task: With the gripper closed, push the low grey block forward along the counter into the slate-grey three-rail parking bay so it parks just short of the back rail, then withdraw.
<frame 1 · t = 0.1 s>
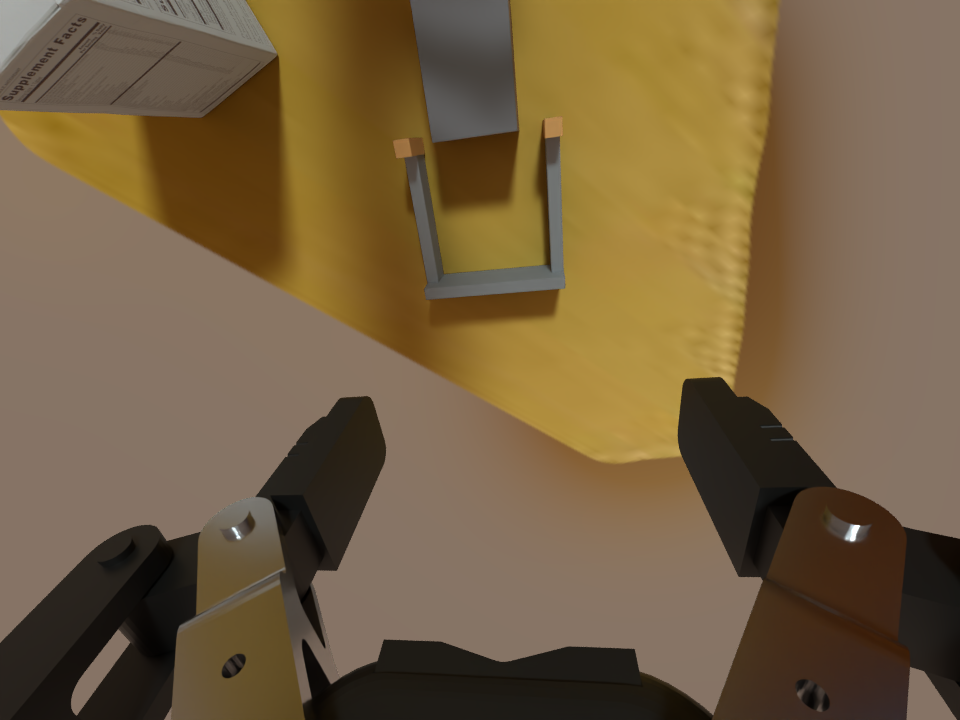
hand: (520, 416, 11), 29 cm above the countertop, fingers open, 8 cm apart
grey block: (475, 70, 32), on the countertop
bay: (489, 207, 36), on the countertop
supplement box: (200, 28, 33), on the countertop
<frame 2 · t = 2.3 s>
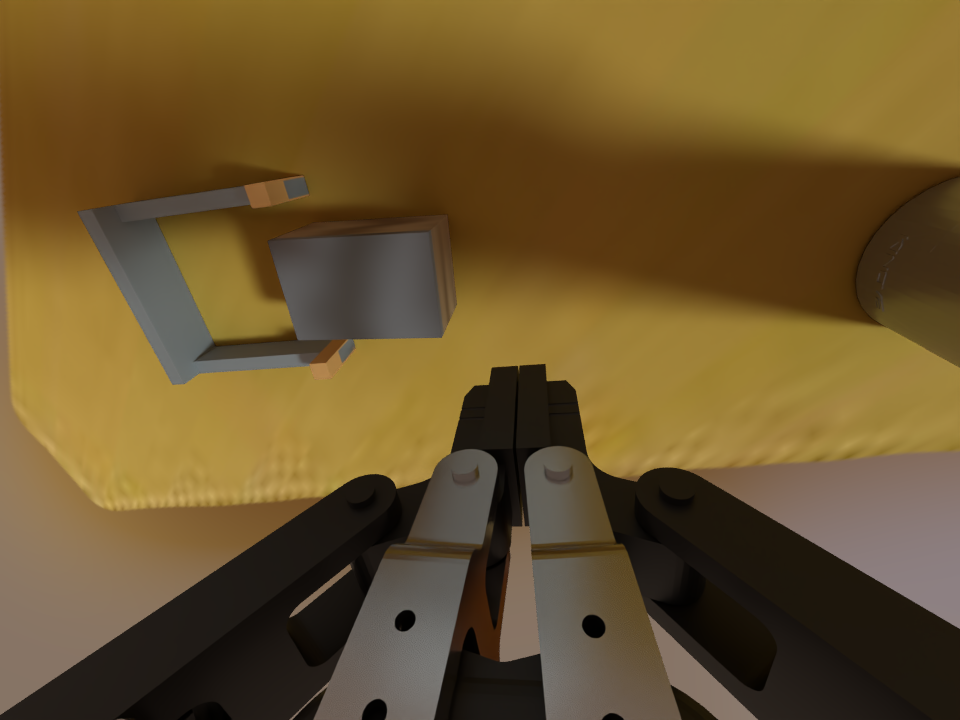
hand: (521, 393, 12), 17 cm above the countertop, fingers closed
grey block: (387, 263, 28), on the countertop
bay: (254, 278, 30), on the countertop
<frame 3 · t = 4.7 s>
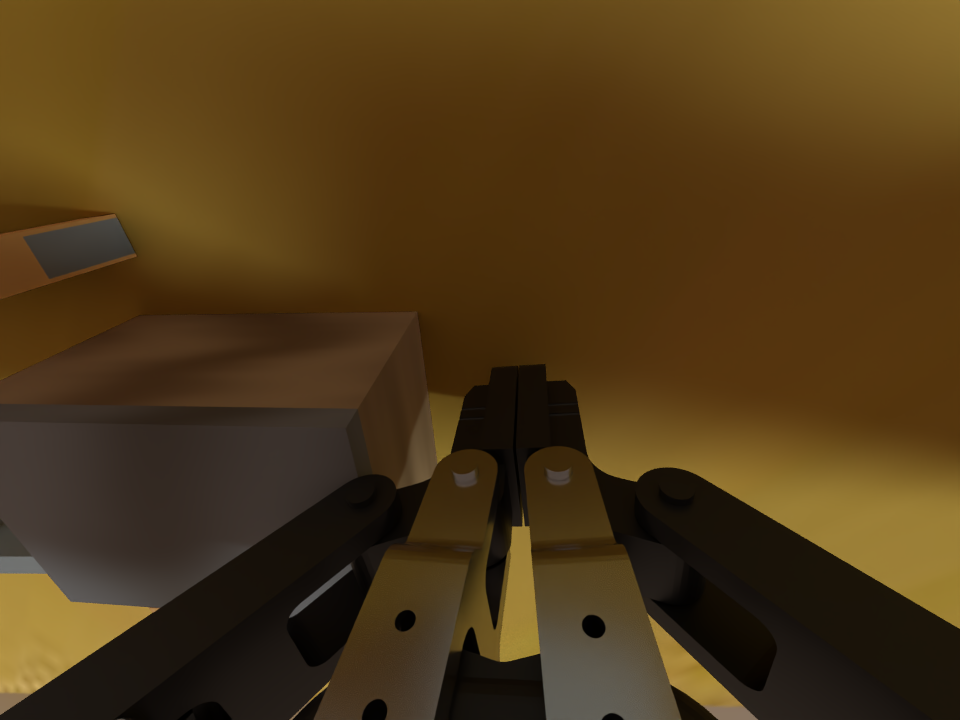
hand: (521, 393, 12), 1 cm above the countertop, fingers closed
grey block: (299, 394, 14), on the countertop, touching gripper
bay: (64, 406, 15), on the countertop
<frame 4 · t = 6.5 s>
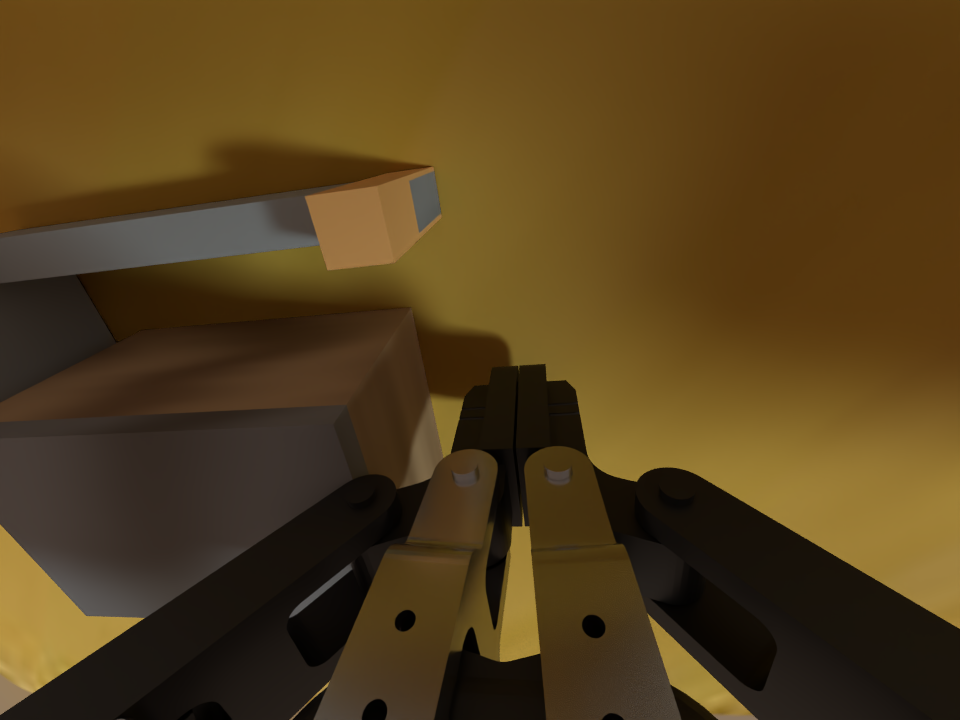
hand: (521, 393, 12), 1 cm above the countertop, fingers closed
grey block: (301, 400, 14), resting in bay, touching gripper
bay: (292, 390, 14), on the countertop
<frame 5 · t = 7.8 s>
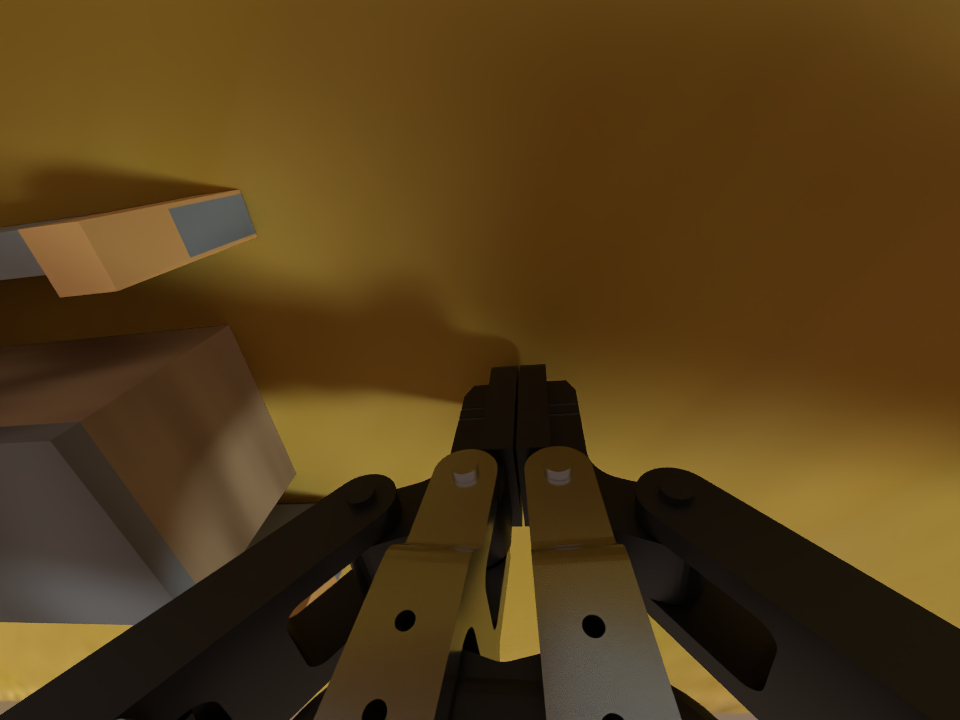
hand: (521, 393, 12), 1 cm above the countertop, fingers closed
grey block: (152, 411, 15), resting in bay
bay: (151, 401, 14), on the countertop
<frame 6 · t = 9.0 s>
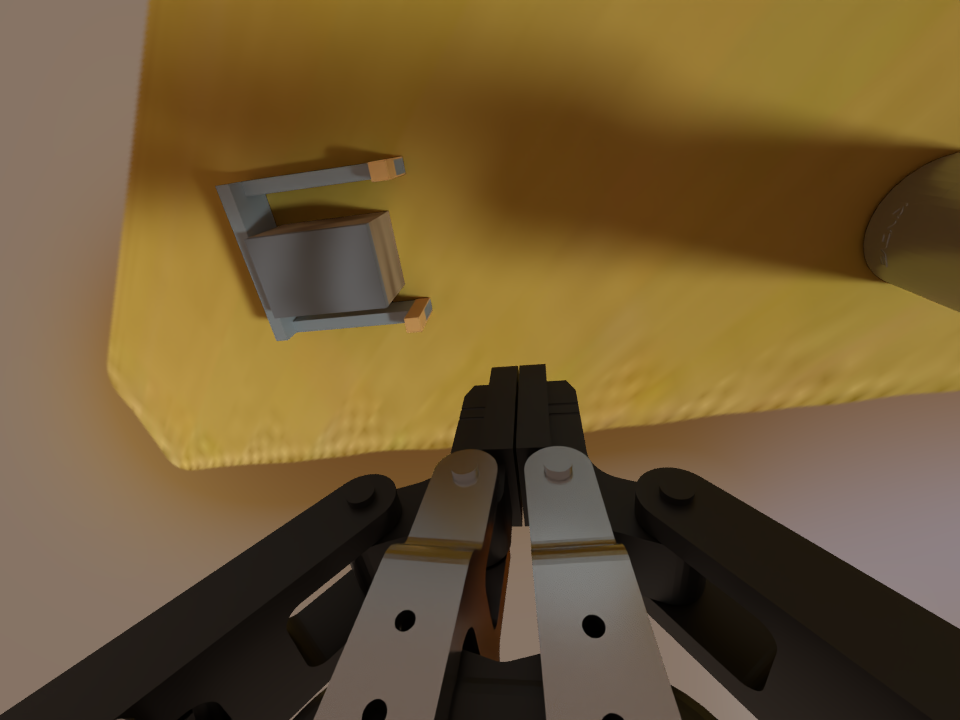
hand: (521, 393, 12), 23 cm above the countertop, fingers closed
grey block: (346, 254, 35), resting in bay
bay: (348, 248, 34), on the countertop
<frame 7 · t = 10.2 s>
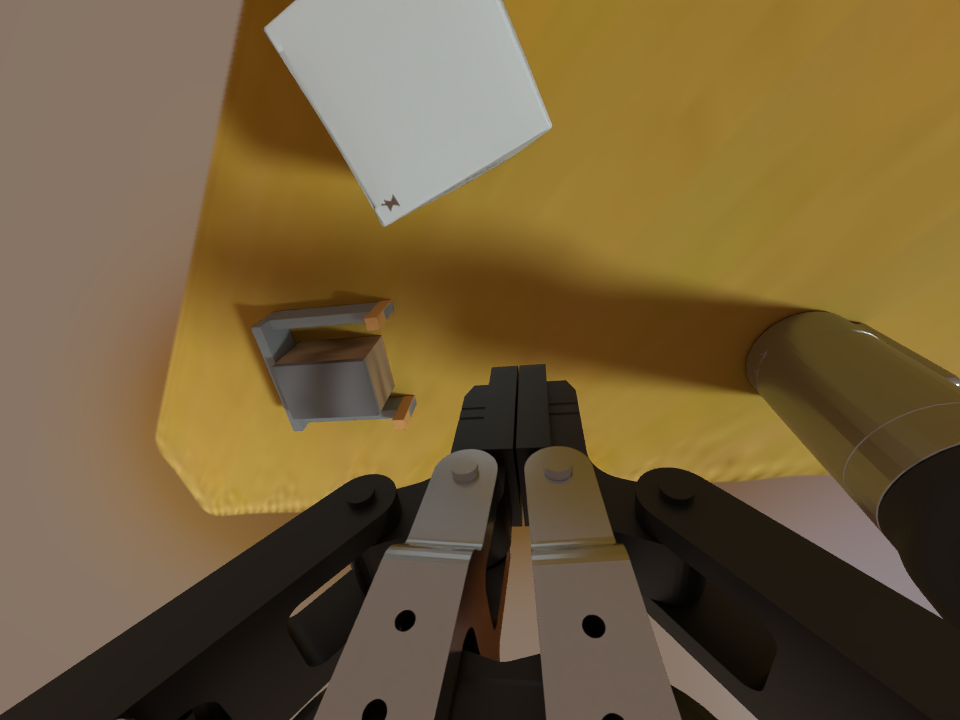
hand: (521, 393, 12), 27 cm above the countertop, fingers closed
grey block: (348, 363, 45), resting in bay
bay: (350, 359, 44), on the countertop
supplement box: (465, 105, 32), on the countertop
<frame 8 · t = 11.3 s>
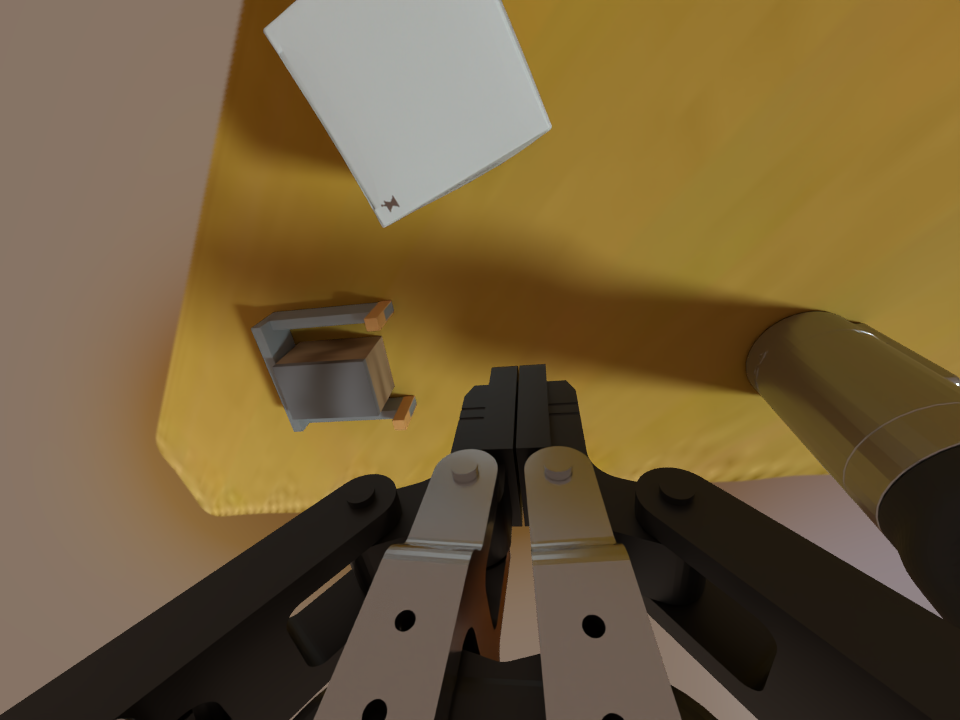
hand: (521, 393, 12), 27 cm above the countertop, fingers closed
grey block: (348, 363, 45), resting in bay
bay: (350, 359, 44), on the countertop
supplement box: (465, 105, 32), on the countertop
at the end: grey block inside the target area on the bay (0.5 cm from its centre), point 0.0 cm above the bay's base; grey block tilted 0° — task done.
